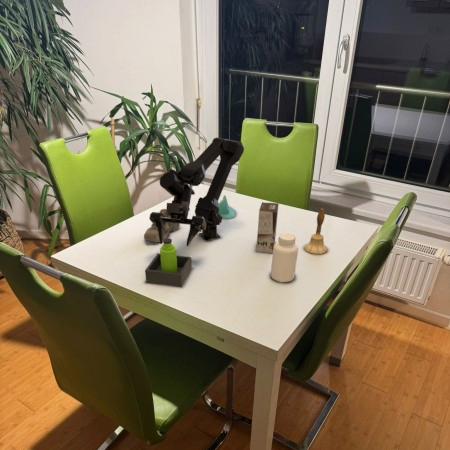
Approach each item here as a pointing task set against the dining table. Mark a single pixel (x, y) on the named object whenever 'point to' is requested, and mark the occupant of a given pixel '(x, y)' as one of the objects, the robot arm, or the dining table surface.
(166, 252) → the green bottle
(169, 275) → the tote
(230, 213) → the teal witch hat
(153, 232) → the hiking shoe
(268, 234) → the coffee box
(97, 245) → the dining table surface
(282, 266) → the pill bottle
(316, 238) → the hand bell
